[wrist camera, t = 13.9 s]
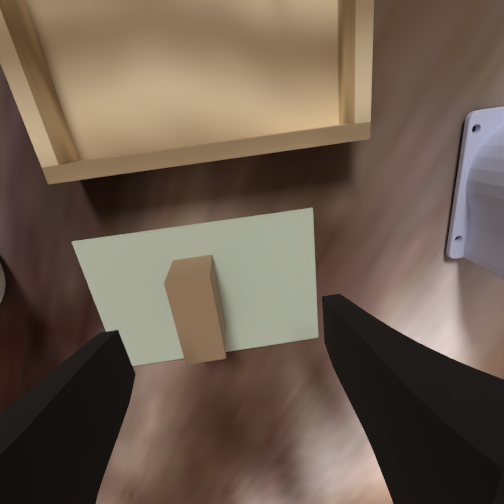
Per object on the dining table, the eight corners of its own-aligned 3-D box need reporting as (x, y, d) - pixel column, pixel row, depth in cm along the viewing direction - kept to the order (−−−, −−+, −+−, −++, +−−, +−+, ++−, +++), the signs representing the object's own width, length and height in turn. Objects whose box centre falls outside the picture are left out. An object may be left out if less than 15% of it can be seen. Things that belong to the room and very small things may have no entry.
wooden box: (347, 137, 18) (370, 139, 15) (77, 175, 17) (48, 184, 14) (347, -125, 13) (379, -191, 11) (-15, -82, 13) (-80, -139, 10)
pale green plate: (315, 331, 24) (331, 368, 20) (123, 360, 23) (104, 403, 20) (309, 205, 20) (328, 222, 16) (77, 237, 19) (42, 263, 16)
